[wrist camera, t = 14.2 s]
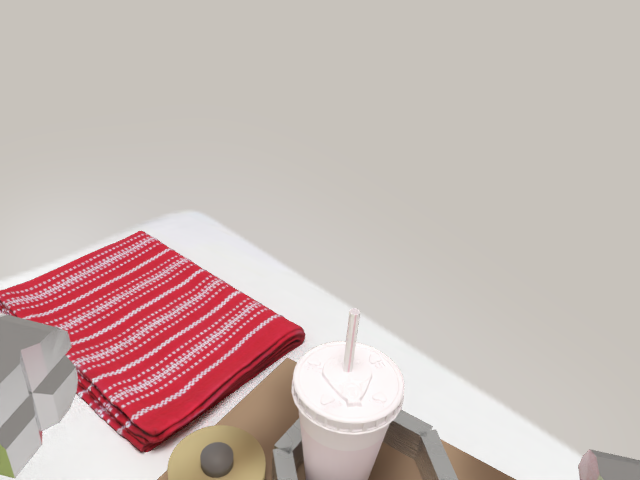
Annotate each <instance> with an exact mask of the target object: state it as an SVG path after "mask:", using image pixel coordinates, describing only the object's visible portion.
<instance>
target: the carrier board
mask: <svg viewBox="0 0 640 480" xmlns="http://www.w3.org/2000/svg"><path fill="white" fill-rule="evenodd" d="M296 364H297V362H295V361H293V360H291V359H289V358H286V359H285V360H284V361H283V362H282V363H281V364H280V365H279V366H278V367H277V368H276V369H275V370H273V371H272V372H271V373H270V374H269V375H268V376H267V377H266V378H265V379H264V380H263V381H262V382H261V383H260V384H259V385H257V386H256V387H255V388H254V389H253V390H252V391H251V392H250V393H249V394H248V395H247V396H246V397H245V398H244V399H243V400H241V401H240V402H239V403H238V404H237V405H236V406H235V407H234V408H233V409H232V410H231V411H230V412H229V413H228V414H227V415H225V416H224V417H223V418H222V419H221V420H220V421H219V422H218V423H217V424H216V425H215V426H209V427H205V428H202V429H199V430H197V431H195V432H193V433H191V434H189V435H188V436H186V437H185V438H184V439H183V440H182V441H181V442H180V443H179V444H178V445H177V446H176V447H175V449H174V450H173V452H172V454H171V456H170V459H169V462H168V470H167V471H166V472H165V473H164V474H163V475H162V476H160V477H159V478H158V479H157V480H272V456H273V449H274V445H275V444H276V442H277V441H278V440H279V439H280V438H281V437H282V436H283V435H284V434H285V433H286V432H287V430H288V429H289V428H290V427H291V426H292V425H293V424H294V423H295V422H296V421H297V420H298V419H299V409H298V408H297V406H296V405H295V403H294V399H293V396H292V392H291V390H292V380H293V373H294V369H295V366H296ZM440 440H441V439H440ZM441 442H442V444H443V447H444V449H445V451H446V453H447V456H448V458H449V460H450V462H451V465H452V467H453V469H454V471H455V473H456V476H457V478H458V480H516V479H514V478H512V477H510V476H508V475H506V474H504V473H503V472H501V471H499V470H497V469H495V468H493V467H491V466H489V465H488V464H486V463H484V462H482V461H480V460H478V459H476V458H474V457H473V456H471V455H469V454H467V453H465V452H463V451H461V450H459V449H458V448H456V447H454V446H452V445H450V444H448V443H446V442H444V441H443V440H441ZM296 473H297V478H298V480H306V476H305V467H304V461H303V462H302V463H301V464H300V466H299V467H298V468H297V469H296ZM368 480H422V477H421V475H420V472H419V470H418V467H417V464H416V462H415V460H414V459H412V458H410V457H408V456H407V455H405V454H403V453H401V452H400V451H398V450H396V449H394V448H392V447H391V446H389V445H387V444H385V443H384V442H382V444H381V447H380V450H379V452H378V455H377V457H376V460H375V463H374V465H373V468H372V470H371V473H370V476H369V478H368Z"/></svg>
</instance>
